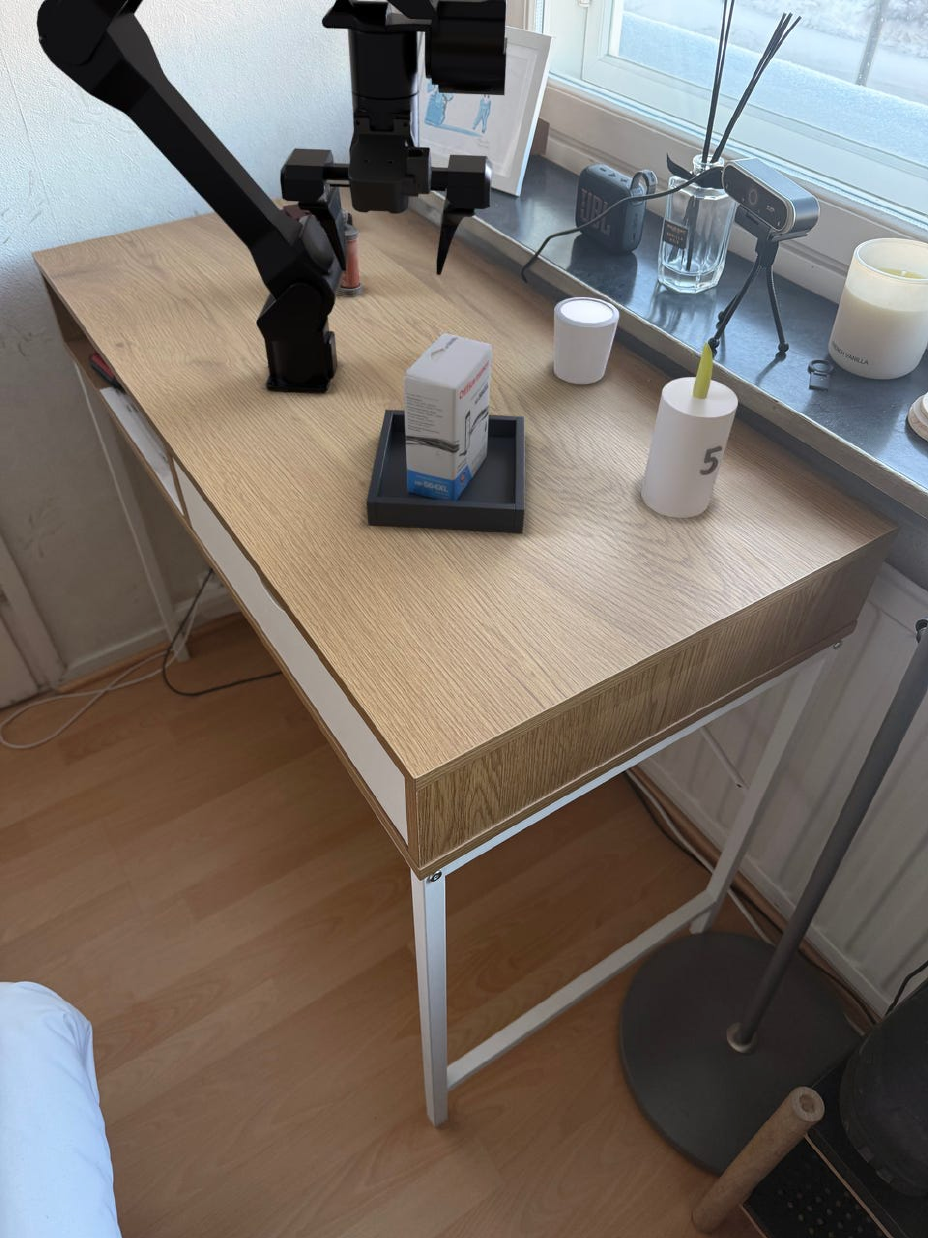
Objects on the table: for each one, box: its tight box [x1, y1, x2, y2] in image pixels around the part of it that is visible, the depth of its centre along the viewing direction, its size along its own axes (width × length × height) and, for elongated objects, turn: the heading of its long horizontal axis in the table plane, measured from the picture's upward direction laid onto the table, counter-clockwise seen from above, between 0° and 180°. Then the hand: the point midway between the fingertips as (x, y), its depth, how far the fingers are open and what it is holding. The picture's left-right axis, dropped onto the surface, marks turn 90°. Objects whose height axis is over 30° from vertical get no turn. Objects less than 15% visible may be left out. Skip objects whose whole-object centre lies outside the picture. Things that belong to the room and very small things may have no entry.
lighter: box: [299, 208, 362, 297], centre depth 105 cm, size 8×3×10 cm, turn 58°
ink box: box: [403, 333, 493, 501], centre depth 77 cm, size 9×5×12 cm, turn 157°
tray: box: [366, 409, 525, 534], centre depth 80 cm, size 14×15×3 cm
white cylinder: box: [552, 296, 620, 385], centre depth 93 cm, size 7×7×7 cm
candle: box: [640, 342, 739, 519], centre depth 75 cm, size 6×6×15 cm
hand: (392, 271), depth 85 cm, fingers open, 9 cm apart
